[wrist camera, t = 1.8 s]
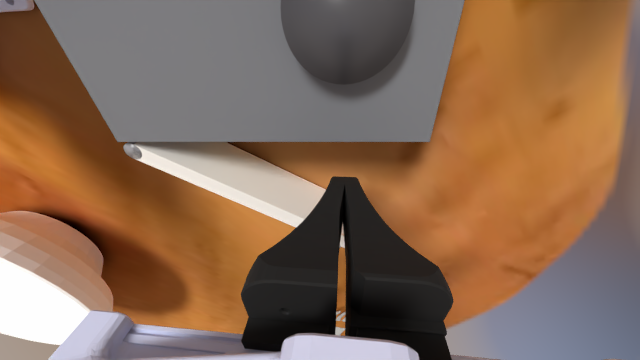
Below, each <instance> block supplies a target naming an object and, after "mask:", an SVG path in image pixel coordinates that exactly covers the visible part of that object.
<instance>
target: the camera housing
mask: <svg viewBox="0 0 640 360" xmlns="http://www.w3.org/2000/svg"><path fill="white" fill-rule="evenodd" d="M34 1H35V3H36V4H37V6H38V8H39V9H40V11H41V13H42V14H43V16H44V18H45V20H46V21H47V23H48V25H49V26H50V28H51V30H52V31H53V33H54V35H55V37H56V38H57V40H58V42H59V43H60V45H61V47H62V48H63V50H64V52H65V54H66V55H67V57H68V59H69V60H70V62H71V64H72V65H73V67H74V69H75V71H76V72H77V74H78V76H79V77H80V79H81V81H82V82H83V84H84V86H85V88H86V89H87V91H88V93H89V94H90V96H91V98H92V99H93V101H94V103H95V105H96V106H97V108H98V110H99V111H100V113H101V115H102V116H103V118H104V120H105V122H106V123H107V125H108V127H109V128H110V130H111V132H112V133H113V135H114V137H115V139H116V140H117V142H430V138H431V134H432V130H433V126H434V122H435V118H436V114H437V110H438V106H439V102H440V98H441V94H442V89H443V85H444V81H445V77H446V73H447V69H448V65H449V61H450V57H451V53H452V49H453V45H454V41H455V37H456V33H457V29H458V25H459V21H460V17H461V13H462V9H463V5H464V1H465V0H34Z"/></svg>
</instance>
